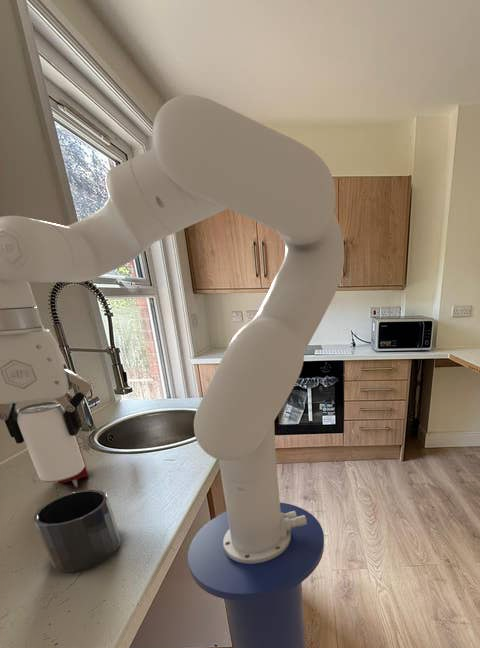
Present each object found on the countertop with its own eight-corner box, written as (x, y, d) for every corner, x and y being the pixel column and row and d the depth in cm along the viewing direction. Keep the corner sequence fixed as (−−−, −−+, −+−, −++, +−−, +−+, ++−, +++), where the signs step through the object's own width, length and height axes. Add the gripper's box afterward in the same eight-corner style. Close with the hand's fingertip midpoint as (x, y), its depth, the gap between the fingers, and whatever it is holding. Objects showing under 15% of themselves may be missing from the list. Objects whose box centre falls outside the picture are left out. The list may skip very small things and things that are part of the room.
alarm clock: (59, 471, 94) (33, 401, 86) (96, 462, 99) (75, 394, 91) (61, 495, 83) (32, 417, 75) (103, 483, 88) (79, 408, 80)
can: (71, 461, 63) (50, 398, 59) (93, 468, 61) (72, 403, 56) (31, 478, 58) (4, 410, 53) (53, 486, 55) (26, 416, 51)
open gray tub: (124, 526, 71) (111, 484, 68) (116, 562, 62) (101, 516, 58) (62, 540, 68) (45, 497, 64) (44, 580, 59) (23, 532, 55)
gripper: (-89, 328, 44) (-29, 455, 51) (72, 320, 49) (106, 436, 56) (-54, 323, 50) (-6, 436, 57) (84, 317, 56) (113, 420, 63)
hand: (49, 435), depth 57 cm, fingers closed on can, 6 cm apart
